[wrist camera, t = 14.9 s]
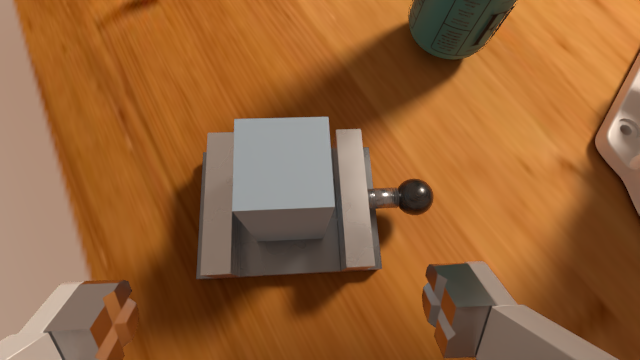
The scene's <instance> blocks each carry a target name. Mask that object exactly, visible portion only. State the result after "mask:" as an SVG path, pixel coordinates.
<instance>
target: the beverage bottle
mask: <svg viewBox="0 0 640 360" xmlns="http://www.w3.org/2000/svg"><path fill="white" fill-rule="evenodd" d="M412 1H413V0H412ZM515 2H516V0H414V2H413V5H412V8H411V9H410V10H411V11H410V15H409V12H408V18H409V26H410V31H411V34H412V36H413V38H414V40H415V41H416V42H417V44H418V45H419V46H420V47H421V48H423V49H424V50H425V51H427V52H428V53H430V54H432V55H434V56H437V57H440V58H444V59H462V58H466V57H469V56H471V55H472V54H474V53H476V52H478V50H479V49H480V48H482V47H483V46H484V45H486V44H487V43H488V42H487V43H486V41H487V40H489V37H490V36H491V35H492V36H493V35H494V34H495V32H496V31H497V30H498V29H499V27H500V26H501V24H502V23H503V21H504V20H505V19H506V17H507V16H508V14H509V13H510V12H511V10H512V9H513V8H514V6H513V5H514V3H515ZM410 6H411V5H410ZM512 6H513V7H512ZM409 8H410V7H409ZM509 9H511V10H509ZM509 11H510V12H509ZM507 12H509V13H507ZM505 15H507V16H505ZM504 16H505V17H504ZM503 18H504V19H503ZM502 19H503V20H502ZM501 21H502V22H501ZM500 22H501V23H500ZM499 23H500V24H499ZM498 25H499V27H498V28H497V26H498ZM494 30H496V31H495V32H494ZM493 32H494V34H493ZM492 36H491V37H492ZM489 41H490V40H489ZM485 43H486V44H485ZM482 49H483V48H482ZM479 51H480V50H479Z"/></svg>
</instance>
